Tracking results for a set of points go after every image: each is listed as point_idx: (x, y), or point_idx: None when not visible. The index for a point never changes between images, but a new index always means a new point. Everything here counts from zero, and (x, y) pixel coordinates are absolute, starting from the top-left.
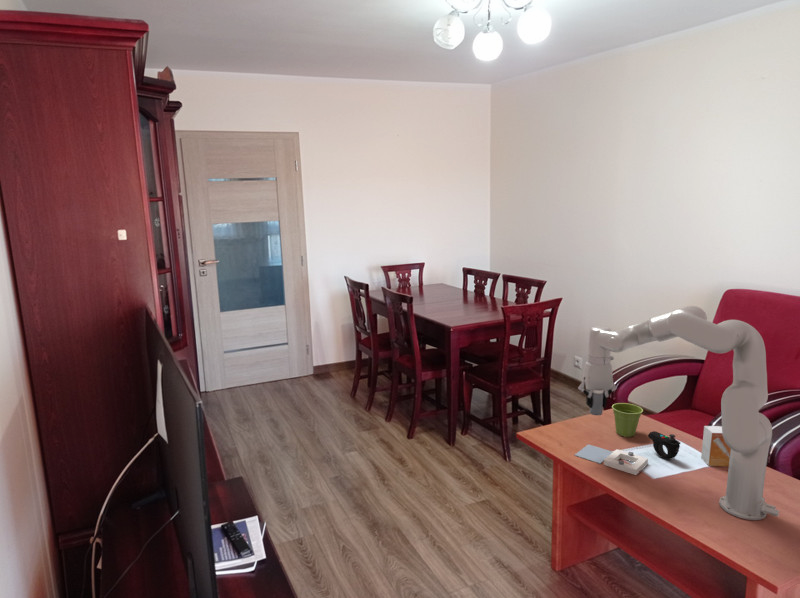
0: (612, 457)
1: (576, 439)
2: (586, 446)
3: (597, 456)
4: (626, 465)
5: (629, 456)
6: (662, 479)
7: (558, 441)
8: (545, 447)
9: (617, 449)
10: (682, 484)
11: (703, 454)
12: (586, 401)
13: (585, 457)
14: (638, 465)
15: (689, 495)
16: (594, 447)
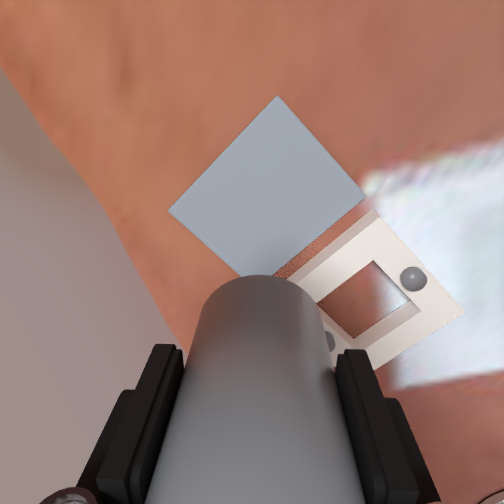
0: (313, 292)
1: (235, 6)
2: (256, 123)
3: (268, 233)
4: (335, 353)
5: (397, 285)
6: (423, 395)
7: (118, 31)
8: (38, 110)
9: (381, 221)
10: (465, 422)
11: None
12: (112, 416)
13: (210, 238)
14: (383, 356)
15: (436, 465)
16: (294, 139)
